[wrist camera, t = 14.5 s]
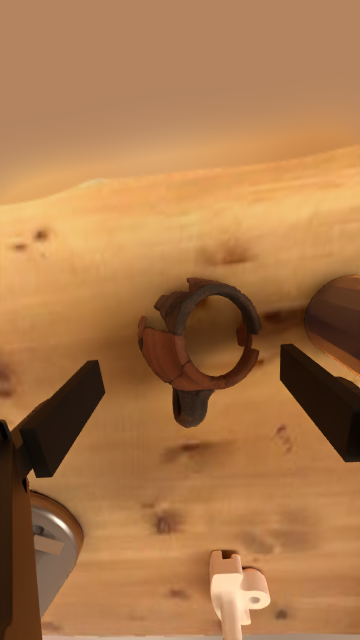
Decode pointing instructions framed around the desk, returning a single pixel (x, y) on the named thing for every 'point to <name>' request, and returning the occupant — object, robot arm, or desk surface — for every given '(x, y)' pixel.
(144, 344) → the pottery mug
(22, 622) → the robot arm
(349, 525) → the desk surface
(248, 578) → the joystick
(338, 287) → the cup
